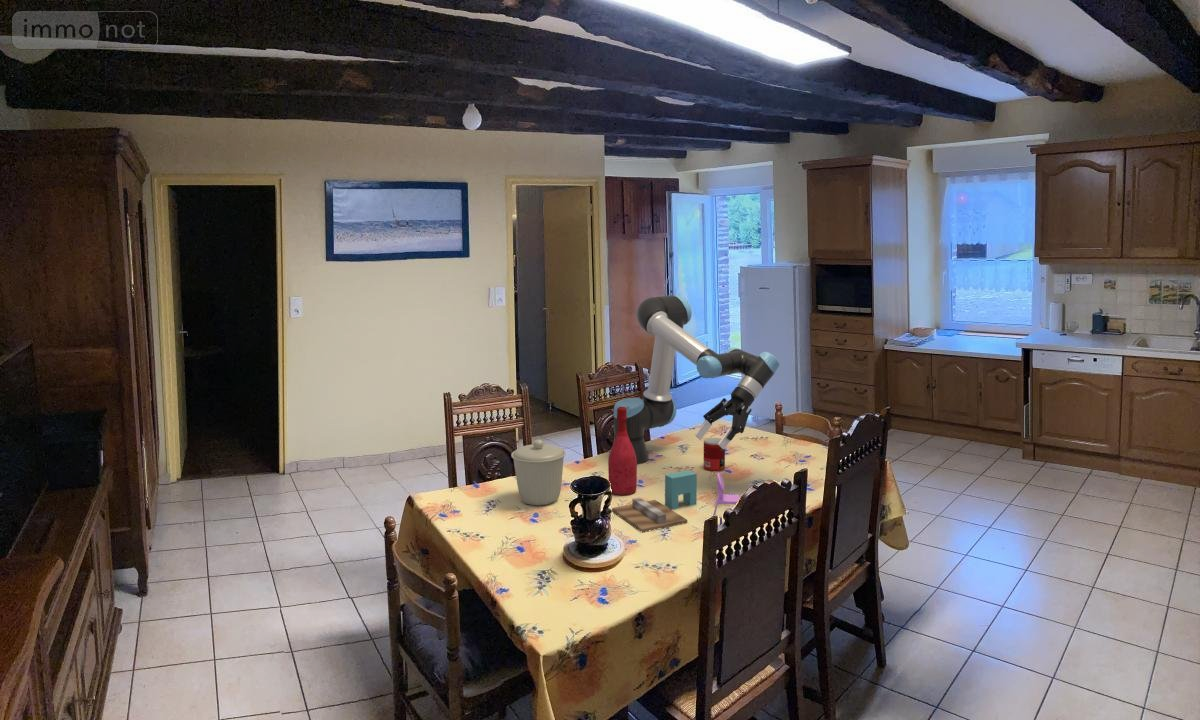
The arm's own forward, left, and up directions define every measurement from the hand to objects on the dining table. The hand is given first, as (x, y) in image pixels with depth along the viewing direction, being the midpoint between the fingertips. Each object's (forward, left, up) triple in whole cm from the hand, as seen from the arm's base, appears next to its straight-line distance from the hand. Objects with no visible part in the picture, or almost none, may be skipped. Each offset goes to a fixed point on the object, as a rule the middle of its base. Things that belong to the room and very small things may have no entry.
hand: (708, 442), depth 260 cm
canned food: (-17, +27, -20) cm, 38 cm away
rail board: (-4, -26, -20) cm, 33 cm away
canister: (-41, -39, -20) cm, 60 cm away
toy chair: (+16, -12, -20) cm, 28 cm away
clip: (-3, -11, -20) cm, 23 cm away
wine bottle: (-26, -14, -20) cm, 36 cm away
